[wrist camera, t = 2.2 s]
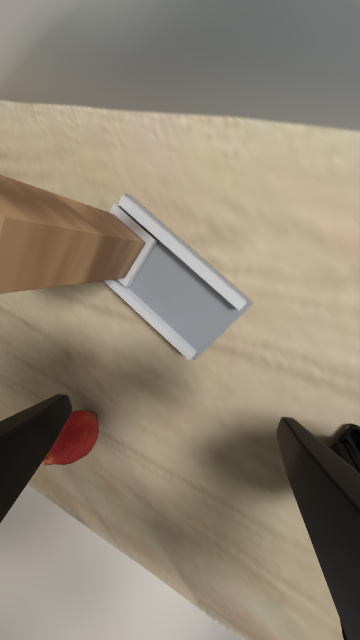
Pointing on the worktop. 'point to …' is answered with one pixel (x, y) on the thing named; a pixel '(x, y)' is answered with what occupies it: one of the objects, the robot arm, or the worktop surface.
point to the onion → (74, 439)
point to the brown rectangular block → (65, 241)
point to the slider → (179, 289)
